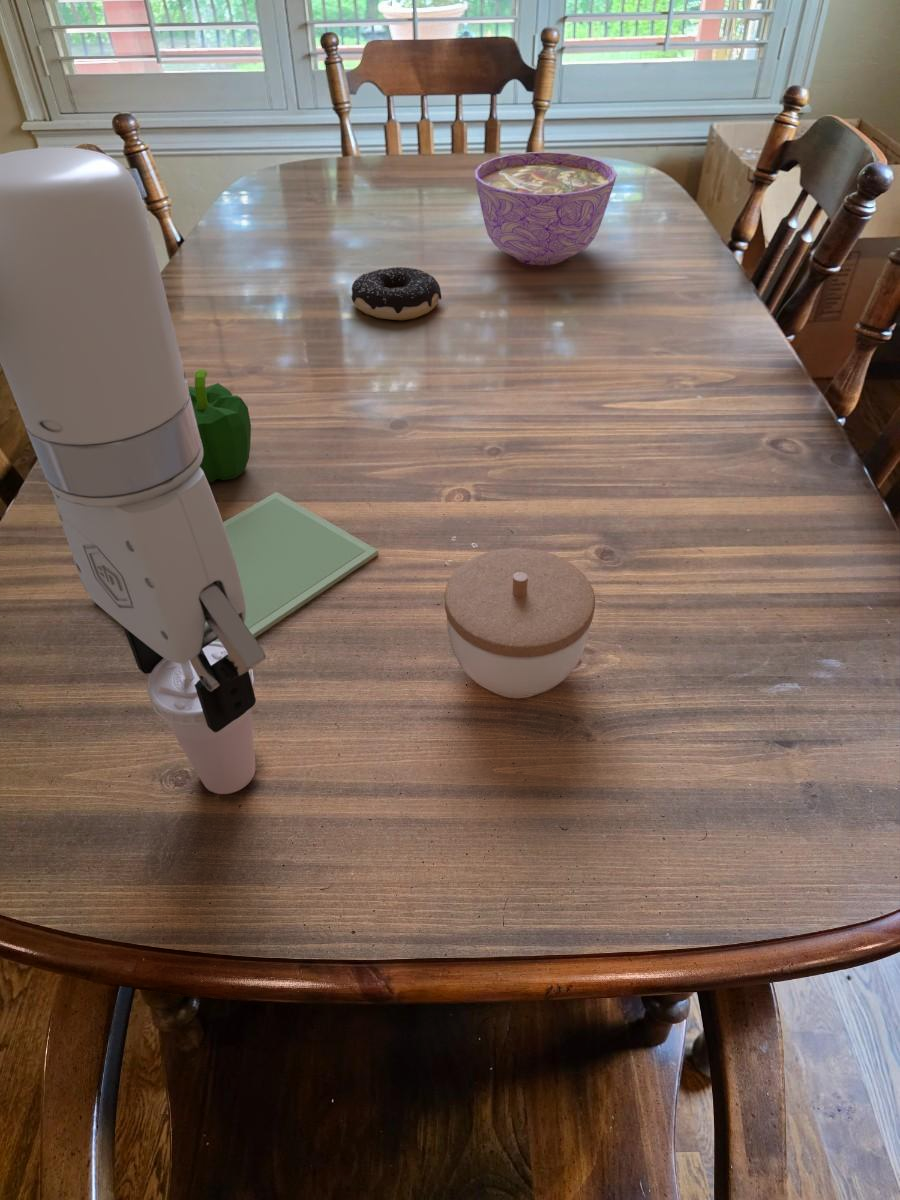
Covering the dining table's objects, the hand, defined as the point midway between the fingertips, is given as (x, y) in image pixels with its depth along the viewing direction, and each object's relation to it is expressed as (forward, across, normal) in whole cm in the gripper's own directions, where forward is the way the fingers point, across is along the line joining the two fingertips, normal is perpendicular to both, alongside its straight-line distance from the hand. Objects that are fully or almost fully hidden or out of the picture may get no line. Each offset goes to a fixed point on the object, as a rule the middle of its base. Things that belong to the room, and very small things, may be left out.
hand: (196, 685), depth 54 cm
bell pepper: (+9, -31, +23) cm, 40 cm away
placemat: (+9, -16, +14) cm, 23 cm away
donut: (+9, -45, +63) cm, 78 cm away
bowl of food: (+9, -41, +90) cm, 99 cm away
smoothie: (+9, 0, 0) cm, 9 cm away
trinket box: (+9, +9, +21) cm, 25 cm away
